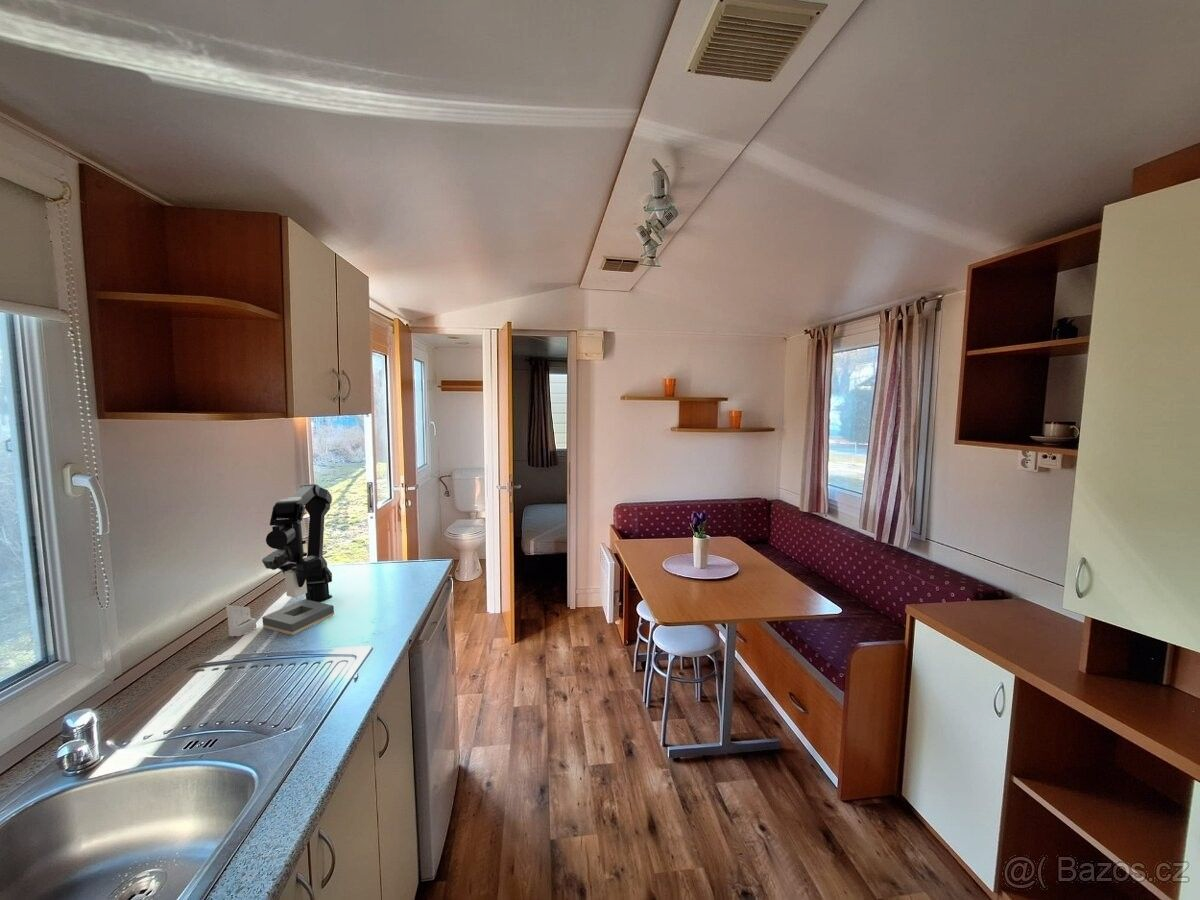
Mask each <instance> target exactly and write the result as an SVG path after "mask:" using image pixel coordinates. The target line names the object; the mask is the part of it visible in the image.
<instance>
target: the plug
mask: <svg viewBox="0 0 1200 900" xmlns="http://www.w3.org/2000/svg"><path fill="white" fill-rule="evenodd" d="M294 568H296V567H292V569H294ZM284 573H285V575H284V581H285V592H286V593H285V594H286V596H287V597H290V598H294V599H295V598H298V597H300V596H303V595H306V593H307V585H306V580H305V582H304V585H303V586H302V587H299V586H298V582H297V578H296V573H295V572H293V571H292V570H288V571H286V572H284ZM284 573H283V574H284Z"/></svg>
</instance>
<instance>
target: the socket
mask: <svg viewBox="0 0 1200 900" xmlns="http://www.w3.org/2000/svg"><path fill="white" fill-rule="evenodd" d="M334 608H335V607H334V605H332V604H329V603H324V602H315V601H311V600H306V598H304V599H303V600H300V601H297V602H294V603H292V604H290V605H288V606H286V607H282V608H280V609H278V610H276V611H273V612H271V613H267V615H264V616H261V617H262V619H261V620H262V627H264V629H267V628H268V629H267V630H271V629H272V630H271V631H275V632H278V631H279V632H280V633H283V634H287V635H290V634H291V636H294V634H295V635H296V633H297V634H298V632H299V633H300V631H301V632H302V630H303V631H305V630H307V629H309V628H311V627H313V626H315V625H317V624H319V622H320V623H322V622H323V620H324V621H326V620H327V618H328V619H330V618H332V617H334V616H335V610H334ZM333 615H334V616H333ZM331 616H332V617H331ZM329 617H330V618H329ZM325 619H326V620H325ZM321 621H322V622H321ZM316 623H317V624H316ZM312 625H313V626H312ZM310 626H311V627H310ZM308 627H309V628H308ZM306 628H307V629H306ZM304 629H305V630H304Z"/></svg>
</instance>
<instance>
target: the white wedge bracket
mask: <svg viewBox="0 0 1200 900" xmlns="http://www.w3.org/2000/svg"><path fill="white" fill-rule="evenodd" d="M225 606H226V607H225V609H226V615H227V625H228V635H229V637H233V636H241V635H242V634H244V633H246V634H248V633H249V632H248V631H250V630H252V629H254V628H256V627H257V619H256V618H252V616H251V607H249V606H242V605H241V606H239V605H232V604H229V605H228V604H226V605H225ZM256 629H257V628H256ZM254 630H255V629H254ZM252 631H253V630H252ZM247 632H248V633H247ZM250 632H251V631H250ZM244 635H245V634H244ZM241 637H242V636H241Z"/></svg>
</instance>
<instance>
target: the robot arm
mask: <svg viewBox="0 0 1200 900" xmlns="http://www.w3.org/2000/svg"><path fill="white" fill-rule="evenodd" d="M332 503H333V497H332V494H331V492H330V491H329V490H328V489H325V488H323V487H320V485H319V484H317V483H306V484H305V483H304V484H301V485H300V488H299V489H297V490H296V492H294V493H293V494H292V495H291V496H290V497H287V498H281V499H279V500H278V501H276V502H275V503H274V505H273V507H272V510H271V511H272V512H271V516H270V521H269V526H272V527H271V529H272V530H271V531H269V533H267V535H266V537H265V543H266V545H267V546H268V547H269V548H270V549H273V550H274V549H275V550H274V551H272V552H270V553H269V554H267V555H266V556H265V557H263V558H261V562H262V564H263V566H264V567H265V569H266V570H271V571H275V570H280V571H281V572H282V573H283V576H285V573H284V572H286V571H288V570H292V571H293V572H295V573H296V578H297V582H298V586H299V587H302V586H303V585H304V582H305V580H306V585H307V593H306V594H305V599H306V600H311V601H315V602H320V603H323V601H326V600H328V599H331V598H333V595H332V594H330V589H329V583H331V582H333V573H332V571H331V570H330V568H329V567H328V562H327V560H326V559H325V558H324V556H323V554H324V553H323V552H324V550H323V549H324V533H325V532H324V531H325V516H326V515H327V513H328V512H329V511H330V508H331V504H332ZM305 511H306V512H307V514H308V515H309V520H308V521H309V522H308V523H309V524H308V537H307V538H308V540H307V541H306V540H305V539H303V532H302V531H303V529H302V521H303V518H304V514H305ZM305 544H307V552H306V551H304V545H305ZM292 567H296V568H294V569H292Z"/></svg>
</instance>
